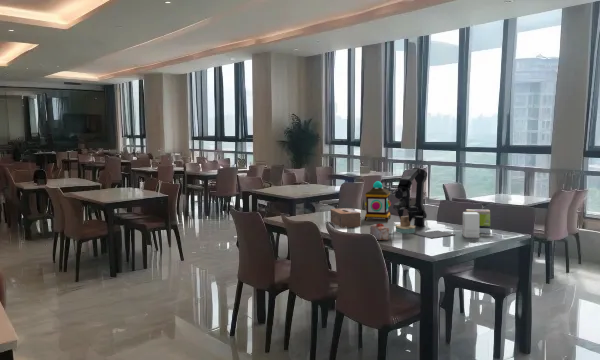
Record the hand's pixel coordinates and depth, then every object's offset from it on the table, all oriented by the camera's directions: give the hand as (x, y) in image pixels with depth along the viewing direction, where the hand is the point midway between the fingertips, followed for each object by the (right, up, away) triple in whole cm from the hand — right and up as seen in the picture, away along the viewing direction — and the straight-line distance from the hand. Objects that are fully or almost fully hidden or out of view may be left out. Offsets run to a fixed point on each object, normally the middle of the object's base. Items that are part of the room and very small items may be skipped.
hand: (405, 220), depth 322 cm
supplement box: (+37, -9, -17) cm, 42 cm away
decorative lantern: (-11, -4, +49) cm, 50 cm away
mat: (+16, -8, -11) cm, 21 cm away
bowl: (0, -8, +1) cm, 8 cm away
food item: (-21, -10, -21) cm, 32 cm away
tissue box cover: (-37, -6, +33) cm, 50 cm away
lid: (0, -5, 0) cm, 4 cm away
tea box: (+47, -8, -4) cm, 48 cm away
